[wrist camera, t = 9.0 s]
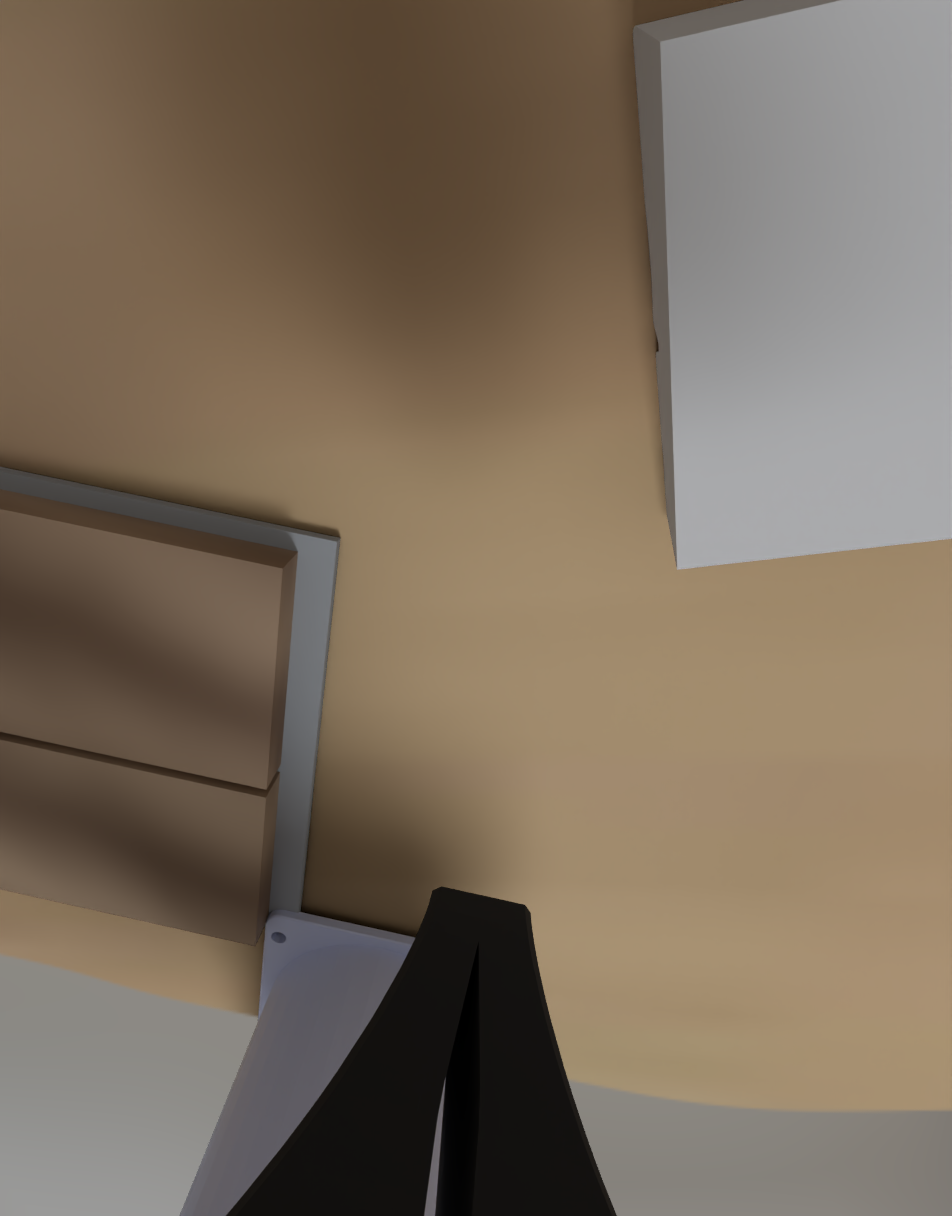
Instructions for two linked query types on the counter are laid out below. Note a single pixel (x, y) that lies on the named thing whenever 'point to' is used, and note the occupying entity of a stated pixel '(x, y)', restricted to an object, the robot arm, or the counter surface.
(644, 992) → the counter surface
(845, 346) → the decorative molding
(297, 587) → the plate
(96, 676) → the board
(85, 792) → the laid plank
